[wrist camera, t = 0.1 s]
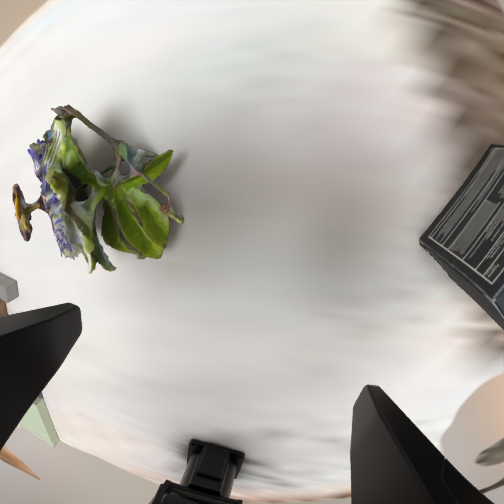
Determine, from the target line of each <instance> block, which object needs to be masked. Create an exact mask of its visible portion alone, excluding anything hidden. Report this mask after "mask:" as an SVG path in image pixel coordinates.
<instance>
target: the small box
mask: <svg viewBox="0 0 504 504" xmlns="http://www.w3.org/2000/svg"><path fill="white" fill-rule="evenodd" d="M420 245H421V246H422V247H423V248H424V249H426V250H427V251H429V253H430V255H431V256H433V257H434V259H435V260H437V262H438V263H439V264H440V265H441V266H442V267H443V269H444V270H445V271H446V272H447V273H448V275H449V277H450V278H451V279H452V280H453V281H454V282H455V283H457V284H458V286H459V287H461V288H462V289H463V290H464V291H465V292H466V293H467V294H468V295H469V296H470V297H471V298H472V299H473V300H474V301H475V302H476V303H477V304H479V305H480V306H481V307H482V308H483V309H484V310H485V311H486V312H487V314H488V315H489V316H490V317H491V318H492V319H493V320H494V321H495V322H496V323H497V324H498V325H499V326H500V327H501V328H502V329H503V330H504V145H494V144H492V145H491V146H490V148H489V149H488V151H487V152H486V154H485V155H484V156H483V158H482V159H481V161H480V162H479V164H478V165H477V166H476V168H475V169H474V171H473V172H472V173H471V175H470V176H469V178H468V179H467V180H466V182H465V183H464V184H463V186H462V187H461V188H460V190H459V191H458V192H457V194H456V195H455V196H454V198H453V199H452V200H451V201H450V203H449V204H448V205H447V206H446V208H445V209H444V210H443V212H442V213H441V214H440V215H439V216H438V218H437V219H436V220H435V221H434V223H433V224H432V225H431V226H430V228H429V229H428V230H427V231H426V232H425V234H424V235H423V236H422V237H421V238H420Z"/></svg>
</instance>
